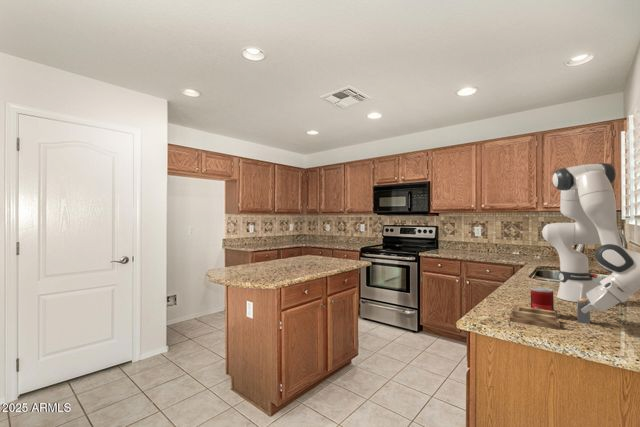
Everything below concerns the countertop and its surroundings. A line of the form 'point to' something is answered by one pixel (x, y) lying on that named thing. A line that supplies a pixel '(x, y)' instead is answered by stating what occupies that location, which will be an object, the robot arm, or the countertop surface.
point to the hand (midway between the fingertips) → (581, 309)
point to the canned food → (542, 298)
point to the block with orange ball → (580, 315)
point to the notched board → (556, 326)
